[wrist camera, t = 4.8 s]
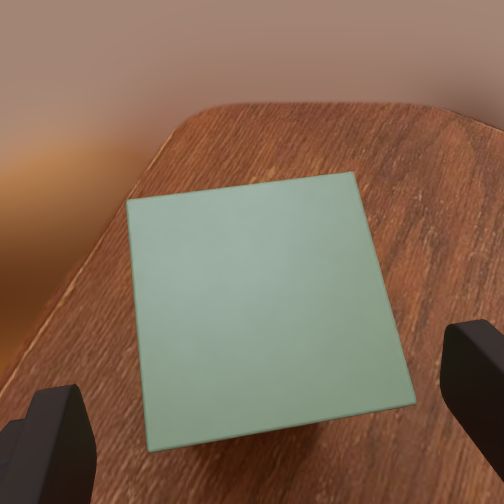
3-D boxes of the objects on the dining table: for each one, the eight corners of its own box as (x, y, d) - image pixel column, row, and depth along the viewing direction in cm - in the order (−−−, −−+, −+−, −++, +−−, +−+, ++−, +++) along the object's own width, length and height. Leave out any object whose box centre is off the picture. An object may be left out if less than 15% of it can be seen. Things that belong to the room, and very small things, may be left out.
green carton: (189, 441, 18) (146, 453, 8) (174, 311, 19) (124, 198, 10) (320, 417, 18) (419, 404, 9) (294, 292, 20) (354, 170, 10)
